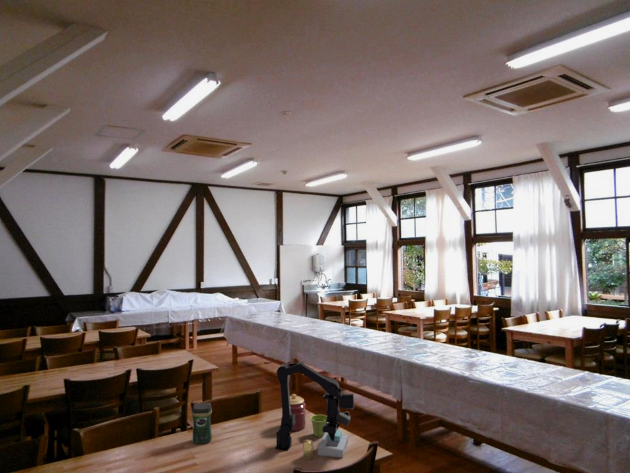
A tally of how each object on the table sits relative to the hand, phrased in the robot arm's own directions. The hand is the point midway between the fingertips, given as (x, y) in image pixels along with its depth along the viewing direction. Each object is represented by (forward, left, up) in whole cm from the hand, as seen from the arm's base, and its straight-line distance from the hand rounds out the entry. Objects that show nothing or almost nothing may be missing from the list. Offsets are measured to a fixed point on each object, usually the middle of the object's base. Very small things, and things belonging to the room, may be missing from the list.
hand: (332, 440), depth 208 cm
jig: (0, +2, -5) cm, 5 cm away
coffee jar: (-66, -5, -5) cm, 66 cm away
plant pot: (-10, +16, -5) cm, 19 cm away
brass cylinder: (-10, -9, -4) cm, 14 cm away
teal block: (0, +5, -1) cm, 5 cm away
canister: (-26, +23, -5) cm, 35 cm away
